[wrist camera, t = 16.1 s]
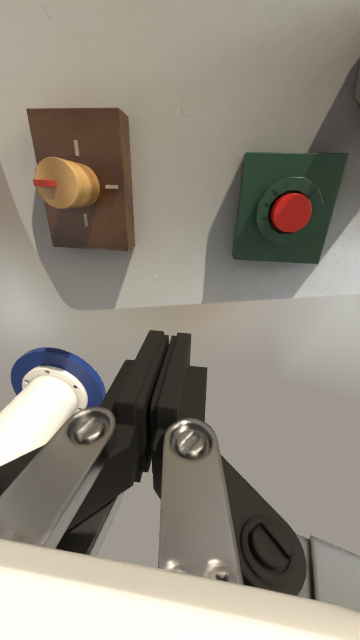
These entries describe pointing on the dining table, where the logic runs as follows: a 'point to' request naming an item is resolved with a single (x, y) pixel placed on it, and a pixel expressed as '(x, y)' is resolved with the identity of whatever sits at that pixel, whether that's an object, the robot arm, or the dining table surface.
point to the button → (291, 212)
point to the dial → (66, 183)
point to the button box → (274, 182)
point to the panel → (106, 162)
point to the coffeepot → (358, 87)
